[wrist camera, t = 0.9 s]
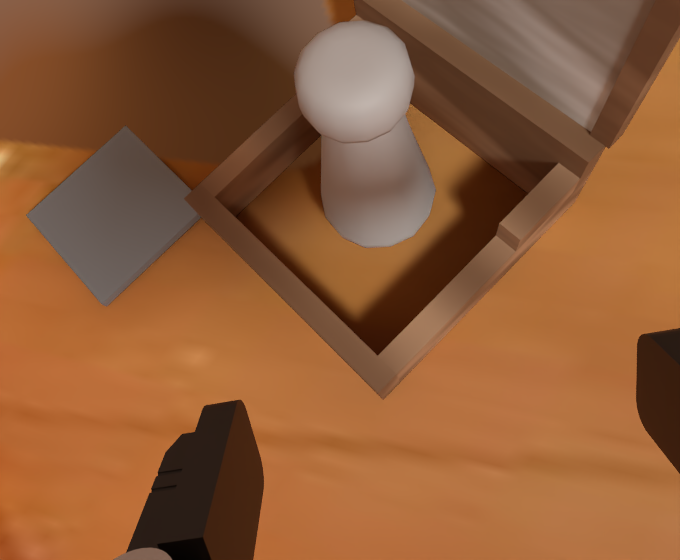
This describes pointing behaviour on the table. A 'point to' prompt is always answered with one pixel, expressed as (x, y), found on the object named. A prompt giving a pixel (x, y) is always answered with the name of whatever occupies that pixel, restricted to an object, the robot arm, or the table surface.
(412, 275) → the table surface
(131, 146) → the plate
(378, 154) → the salt shaker
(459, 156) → the table surface
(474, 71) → the frame
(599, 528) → the table surface
